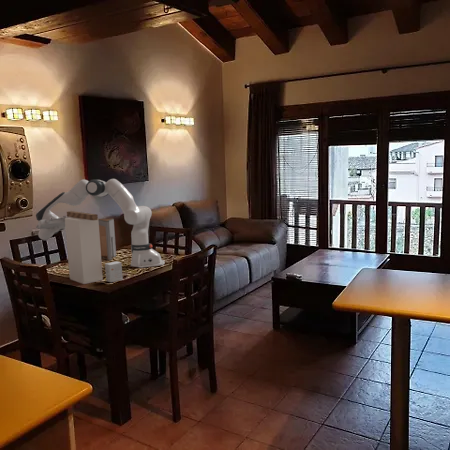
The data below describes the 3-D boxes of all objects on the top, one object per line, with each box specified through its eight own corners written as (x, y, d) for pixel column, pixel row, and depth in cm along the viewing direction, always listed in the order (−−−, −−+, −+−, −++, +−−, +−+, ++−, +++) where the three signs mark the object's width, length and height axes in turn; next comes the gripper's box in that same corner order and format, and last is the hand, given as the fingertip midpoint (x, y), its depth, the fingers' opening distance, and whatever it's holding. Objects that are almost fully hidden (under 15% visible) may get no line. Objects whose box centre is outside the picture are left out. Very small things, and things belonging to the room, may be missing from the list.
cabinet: (98, 256, 347) (95, 218, 343) (110, 254, 352) (108, 217, 348) (109, 260, 330) (106, 221, 326) (122, 258, 336) (119, 219, 332)
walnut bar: (67, 216, 285) (66, 211, 284) (71, 215, 287) (71, 211, 286) (93, 220, 262) (92, 215, 261) (97, 219, 264) (97, 214, 263)
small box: (118, 278, 280) (117, 261, 279) (122, 279, 276) (121, 262, 275) (106, 280, 275) (104, 263, 274) (110, 282, 271) (109, 264, 270)
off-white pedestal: (69, 279, 283) (64, 218, 277) (88, 275, 291) (83, 215, 285) (84, 284, 270) (78, 220, 264) (102, 279, 278) (98, 217, 272)
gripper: (33, 224, 300) (40, 214, 291) (64, 220, 314) (71, 211, 305) (36, 232, 299) (43, 223, 289) (67, 228, 313) (74, 220, 303)
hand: (58, 217), depth 297 cm, fingers open, 8 cm apart
